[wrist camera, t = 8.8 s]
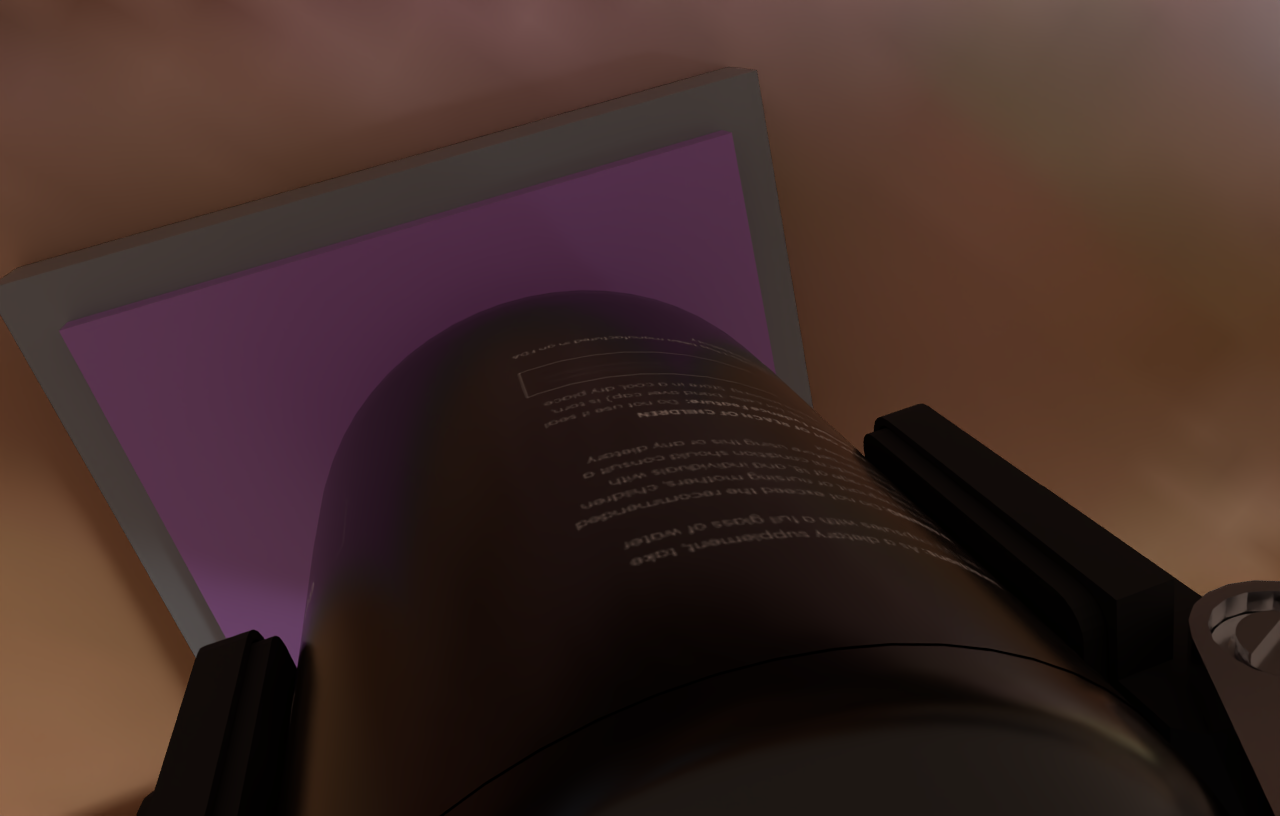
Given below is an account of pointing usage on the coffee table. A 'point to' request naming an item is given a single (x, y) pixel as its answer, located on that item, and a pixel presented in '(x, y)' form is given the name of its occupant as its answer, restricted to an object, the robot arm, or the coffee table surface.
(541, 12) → the coffee table surface
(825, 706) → the supplement bottle
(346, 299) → the ink pad
